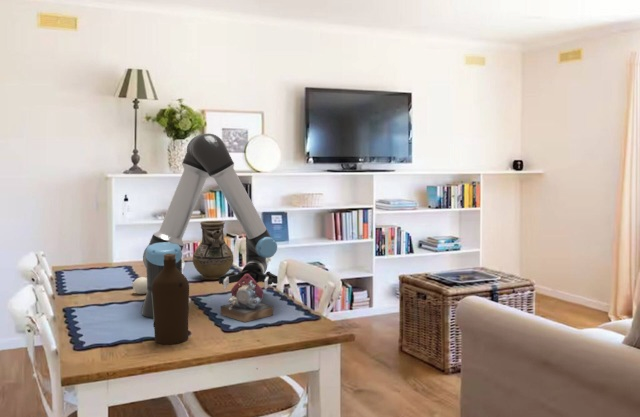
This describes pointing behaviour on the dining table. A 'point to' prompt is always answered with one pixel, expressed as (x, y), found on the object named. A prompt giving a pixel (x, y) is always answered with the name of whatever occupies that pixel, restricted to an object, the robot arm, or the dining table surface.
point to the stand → (247, 312)
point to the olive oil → (170, 303)
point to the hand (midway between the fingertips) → (245, 284)
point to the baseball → (140, 285)
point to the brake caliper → (246, 294)
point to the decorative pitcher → (212, 251)
